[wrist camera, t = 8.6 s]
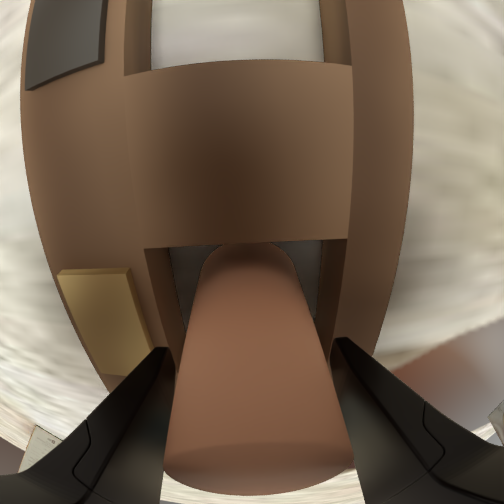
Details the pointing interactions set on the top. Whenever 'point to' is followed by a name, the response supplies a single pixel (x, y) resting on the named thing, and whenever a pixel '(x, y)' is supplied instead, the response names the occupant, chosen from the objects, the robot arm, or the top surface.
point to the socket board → (212, 166)
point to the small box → (38, 447)
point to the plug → (253, 383)
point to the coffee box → (498, 421)
